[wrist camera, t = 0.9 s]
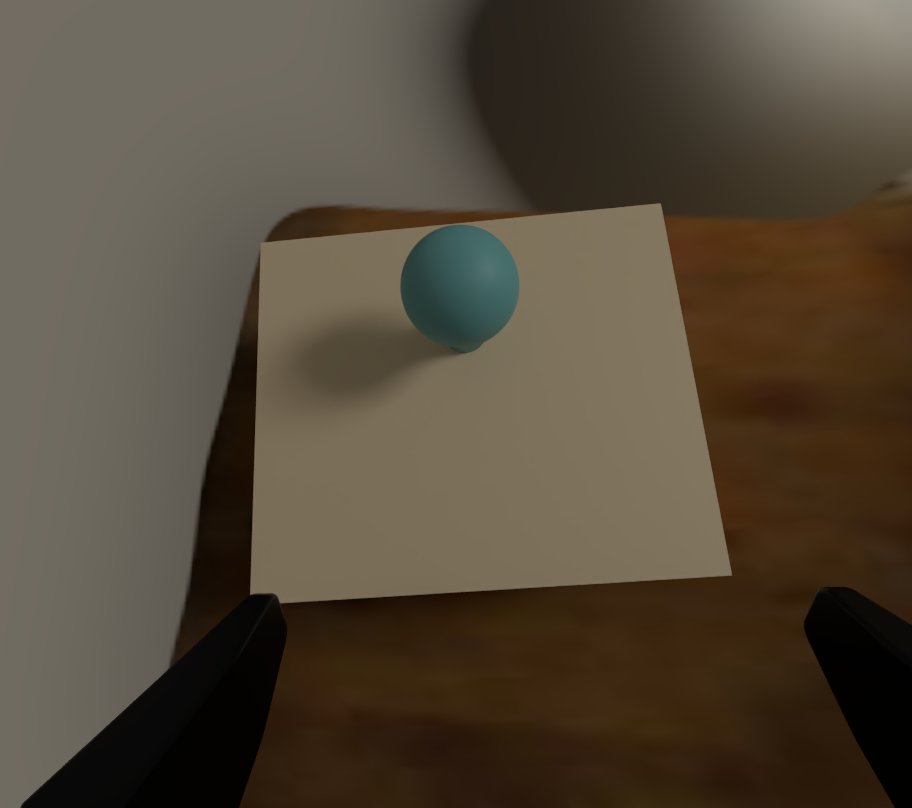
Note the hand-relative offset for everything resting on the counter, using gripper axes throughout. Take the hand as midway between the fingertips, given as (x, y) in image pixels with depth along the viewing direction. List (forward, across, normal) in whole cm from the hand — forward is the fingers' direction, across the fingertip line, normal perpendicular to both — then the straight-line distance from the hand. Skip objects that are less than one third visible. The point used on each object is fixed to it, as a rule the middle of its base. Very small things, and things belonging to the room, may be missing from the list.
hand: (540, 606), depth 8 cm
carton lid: (+9, +1, 0) cm, 9 cm away
